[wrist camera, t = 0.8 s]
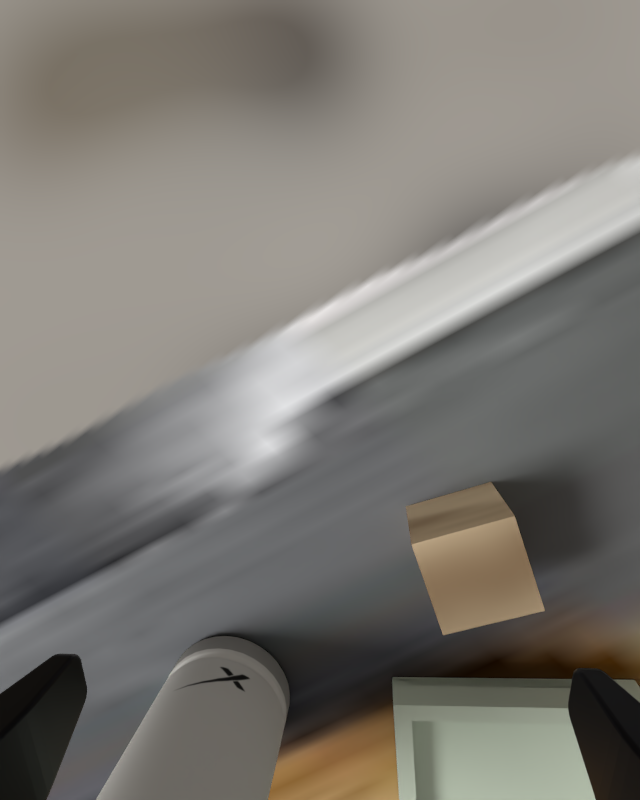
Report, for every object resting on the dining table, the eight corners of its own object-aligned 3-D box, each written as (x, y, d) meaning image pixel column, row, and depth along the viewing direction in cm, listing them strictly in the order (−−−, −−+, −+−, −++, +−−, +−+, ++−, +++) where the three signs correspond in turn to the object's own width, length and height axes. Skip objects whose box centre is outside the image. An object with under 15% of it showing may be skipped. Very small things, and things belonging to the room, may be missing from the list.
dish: (630, 880, 24) (650, 924, 23) (404, 866, 26) (406, 906, 24) (634, 679, 23) (656, 710, 21) (392, 677, 24) (393, 704, 22)
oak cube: (515, 560, 23) (544, 610, 19) (432, 582, 23) (443, 635, 19) (490, 481, 22) (514, 516, 18) (405, 505, 23) (411, 544, 19)
